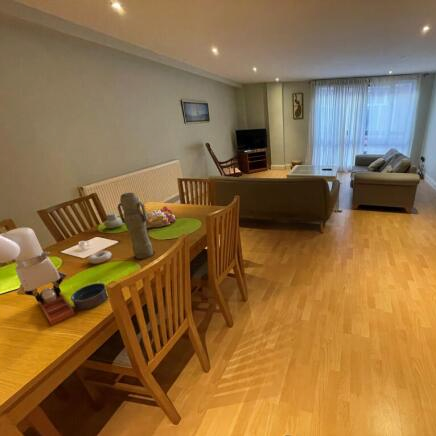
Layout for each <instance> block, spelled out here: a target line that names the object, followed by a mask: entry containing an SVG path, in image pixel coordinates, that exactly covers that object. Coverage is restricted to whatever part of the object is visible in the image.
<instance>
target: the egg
mask: <svg viewBox="0 0 436 436" xmlns="http://www.w3.org/2000/svg"><path fill="white" fill-rule="evenodd" d="M39 294H40V296H41V298H42V300H43V301H44V302H46V303H49V302H51V301H54V300H56V299H57V293H56V291H55V289H54V288H53V287H45V288H43V289H41V291H40V292H39Z"/></svg>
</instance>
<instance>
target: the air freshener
mask: <svg viewBox="0 0 436 436" xmlns="http://www.w3.org/2000/svg"><path fill="white" fill-rule="evenodd" d="M105 217H106V220H105V221H104V223H103V225H104V227H105V228H107V229H110V230H113V229H117V228H120V227H122V226H123V224H124V223H122V220H121V217H118V214H117V212H108V213H106V214H105Z"/></svg>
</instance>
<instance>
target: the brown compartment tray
mask: <svg viewBox="0 0 436 436" xmlns="http://www.w3.org/2000/svg"><path fill="white" fill-rule="evenodd" d="M60 295H61V296H58V295H57V299H56V300H54V301H51V302H49V303H46V302H44V301H43V303H41V302H40V301H39V302H37V303H38V304H39V306H40V308H41V309H42V311H43V313H44V315H45V316H46V318H47V320H48V322H49V323H50V325H51V326H54V325H57V324H58V323H60V322H62V321H64V320H66V319H68V318H70V317H73V316H74V315H76V313H75V310H74V308H73V307H72V306H71V304H70V303H69V302H68V300H67V299H66V298H65V296H64V295H63V294H62V292H61V293H60Z"/></svg>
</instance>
